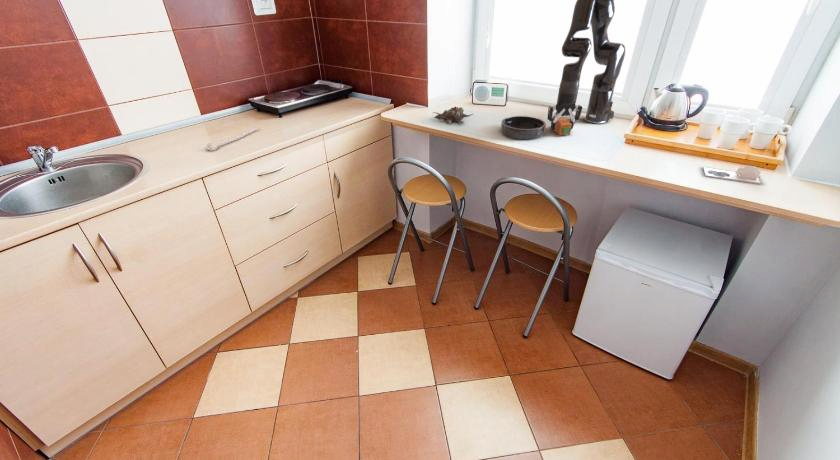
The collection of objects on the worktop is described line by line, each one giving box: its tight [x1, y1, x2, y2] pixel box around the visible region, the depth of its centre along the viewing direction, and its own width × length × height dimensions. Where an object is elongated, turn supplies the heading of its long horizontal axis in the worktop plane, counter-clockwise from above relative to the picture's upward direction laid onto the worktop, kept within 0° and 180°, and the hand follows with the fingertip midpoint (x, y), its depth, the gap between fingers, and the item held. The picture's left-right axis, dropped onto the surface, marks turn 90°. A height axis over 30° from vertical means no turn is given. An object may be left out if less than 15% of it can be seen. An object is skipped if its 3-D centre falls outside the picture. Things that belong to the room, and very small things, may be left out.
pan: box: [500, 115, 547, 141], centre depth 168 cm, size 19×19×4 cm
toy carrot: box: [554, 118, 572, 136], centre depth 169 cm, size 13×4×5 cm, turn 3°
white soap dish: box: [703, 165, 762, 185], centre depth 128 cm, size 15×7×4 cm, turn 64°
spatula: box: [206, 127, 259, 152], centre depth 170 cm, size 28×4×3 cm, turn 158°
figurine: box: [432, 106, 474, 125], centre depth 186 cm, size 20×6×17 cm
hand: (561, 130), depth 169 cm, fingers open, 7 cm apart
